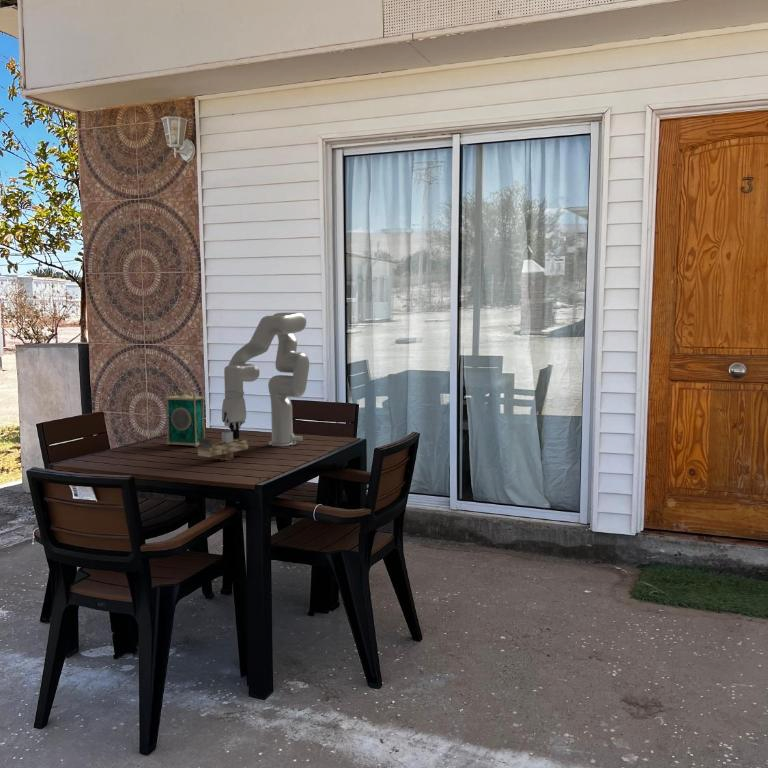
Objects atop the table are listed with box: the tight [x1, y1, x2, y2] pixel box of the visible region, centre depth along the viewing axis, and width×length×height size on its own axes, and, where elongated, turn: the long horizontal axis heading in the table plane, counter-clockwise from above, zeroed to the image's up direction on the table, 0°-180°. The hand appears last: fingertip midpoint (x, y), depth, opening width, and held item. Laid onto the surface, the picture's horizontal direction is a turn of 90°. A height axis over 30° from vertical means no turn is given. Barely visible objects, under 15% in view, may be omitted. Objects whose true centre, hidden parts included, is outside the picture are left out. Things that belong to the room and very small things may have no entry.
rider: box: [221, 428, 234, 445], centre depth 313 cm, size 4×2×7 cm, turn 145°
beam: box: [197, 437, 249, 461], centre depth 312 cm, size 22×7×10 cm, turn 145°
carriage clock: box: [163, 379, 207, 448], centre depth 345 cm, size 17×9×30 cm, turn 70°
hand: (235, 438), depth 317 cm, fingers closed
